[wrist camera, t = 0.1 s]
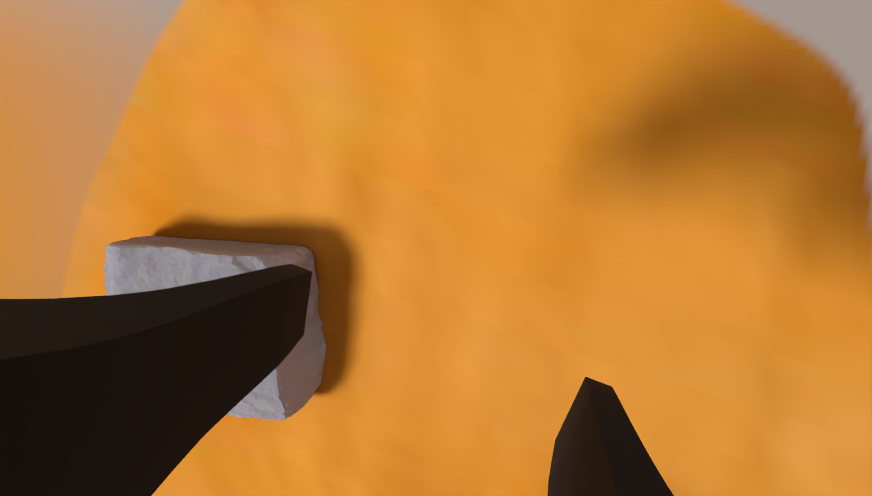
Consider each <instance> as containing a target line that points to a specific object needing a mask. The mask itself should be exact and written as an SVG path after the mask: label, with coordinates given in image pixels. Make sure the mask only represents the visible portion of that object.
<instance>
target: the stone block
mask: <svg viewBox="0 0 872 496" xmlns="http://www.w3.org/2000/svg"><path fill="white" fill-rule="evenodd" d="M105 251H106V260H105V287H106V292H107V296H108V295H119V294H128V293H137V292H145V291H153V290H160V289H166V288H172V287H177V286H183V285H188V284H194V283H199V282H204V281H210V280H215V279H220V278H224V277H229V276H233V275H238V274H242V273H247V272H251V271H256V270H260V269H265V268H270V267H275V266H280V265H287V264H294V265H297V266H299V267H302V268H304V269H307V270H310V271H312V278H311V285H310V293H309V300H308V308H307V315H306V323H305V330H304V335H303V337H302V338H301V339H300V340H299V342H298V343H297V344H296V346H295V347H294V348H293V349H292V351H291V352H290V353H289V354H288V355H287V357H286V358H285V359H284V360H283V361H282V362H281V364H280V365H279V366H278V367H277V368H275V369H274V370H273V371H272V372H271V373H270V374H269V375H268V376H267V377H266V378H265V379H264V380H263V381H262V382H261V383H260V384H259V385H257V386H256V387H255V388H254V389H253V390H252V391H251V392H250V393H249V394H248V395H247V396H246V397H244V398H243V399H242V400H241V401H240V402H239V403H238V404H237V405H236V406H235V407H234V408H233V409H232V410H230V411H229V412H228V413H227V414H229V415H233V416H235V417H245V418H250V417H257V418H258V419H269V420H285V419H287V417H291V416H292V415H293V414H295V413H296V412H297V411H299V410H300V409H301V408H302V407H304V405H305V404H306V403H307V402H308V400H309V399H310V398H311V397H312V396H313V394H314V393H315V391H316V389H317V388H318V387H319V386H320V385H321V381H322V377H323V366H324V361H325V357H326V344H325V339H324V335H323V329H322V325H323V324H322V321H321V319H320V316H319V314H318V297H319V295H318V290H319V289H318V283H317V277H316V271H315V260H314V255H313V253H312V251H311V250H310V249H308V248H306V247H304V246H301V245H289V244H268V243H254V242H239V241H224V240H211V239H188V238H178V237H166V236H146V237H135V238H130V239H128V240H122V241H118V242H113V243H111V244H109V245H108V246H107V247H106V249H105Z"/></svg>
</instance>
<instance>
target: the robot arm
mask: <svg viewBox="0 0 872 496" xmlns="http://www.w3.org/2000/svg"><path fill="white" fill-rule="evenodd" d="M311 278H312V271H310V270H307V269H304V268H302V267H299V266H297V265H294V264H287V265H280V266H275V267H270V268H265V269H260V270H256V271H251V272H247V273H242V274H238V275H233V276H229V277H224V278H220V279H215V280H210V281H204V282H199V283H194V284H188V285H183V286H177V287H172V288H166V289H160V290H153V291H145V292H137V293H128V294H119V295H108V296H92V297H74V298H58V299H0V496H151V495H152V494H153V493H154V492H155V491H156V489H157V488H158V487H159V486H160V485H161V484H162V482H163V481H164V480H165V479H166V478H167V476H168V475H169V474H170V473H171V472H172V471H173V470H174V468H175V467H176V466H177V465H178V464H179V463H180V462H181V461H182V459H183V458H184V457H185V456H186V455H187V454H188V453H189V452H190V450H191V449H192V448H193V447H194V446H195V445H196V444H197V443H198V441H199V440H200V439H201V438H202V437H203V436H204V435H205V434H206V433H207V432H208V431H209V430H210V429H211V428H212V427H213V426H214V425H215V424H216V423H217V422H219V421H220V420H221V419H222V418H223V417H224V416H225V415H226V414H227V413H228V412H229V411H230V410H232V409H233V408H234V407H235V406H236V405H237V404H238V403H239V402H240V401H241V400H242V399H243V398H244V397H246V396H247V395H248V394H249V393H250V392H251V391H252V390H253V389H254V388H255V387H256V386H257V385H259V384H260V383H261V382H262V381H263V380H264V379H265V378H266V377H267V376H268V375H269V374H270V373H271V372H272V371H273V370H274V369H275V368H277V367H278V366H279V365H280V364H281V362H282V361H283V360H284V359H285V358H286V357H287V355H288V354H289V353H290V352H291V351H292V349H293V348H294V347H295V346H296V344H297V343H298V342H299V340H300V339H301V338H302V337H303V335H304V330H305V323H306V315H307V308H308V300H309V293H310V285H311ZM548 496H674V495H673V494H672V492H671V491H670V489H669V488H668V486H667V485H666V483H665V481H664V480H663V478H662V476H661V475H660V473H659V471H658V470H657V468H656V466H655V465H654V463H653V461H652V460H651V458H650V456H649V454H648V453H647V451H646V449H645V447H644V446H643V444H642V442H641V440H640V438H639V436H638V435H637V433H636V431H635V429H634V427H633V425H632V423H631V422H630V420H629V418H628V416H627V414H626V412H625V410H624V408H623V406H622V404H621V402H620V401H619V399H618V397H617V395H616V393H615V391H614V389H613V388H612V387H611V386H608V385H606V384H603V383H601V382H598V381H595V380H593V379H590V378H588V377H585V379H584V381H583V383H582V385H581V387H580V389H579V392H578V394H577V396H576V398H575V400H574V402H573V404H572V406H571V408H570V410H569V412H568V415H567V417H566V419H565V421H564V423H563V425H562V427H561V429H560V431H559V433H558V435H557V438H556V440H555V445H554V451H553V456H552V462H551V469H550V475H549V483H548Z"/></svg>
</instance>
